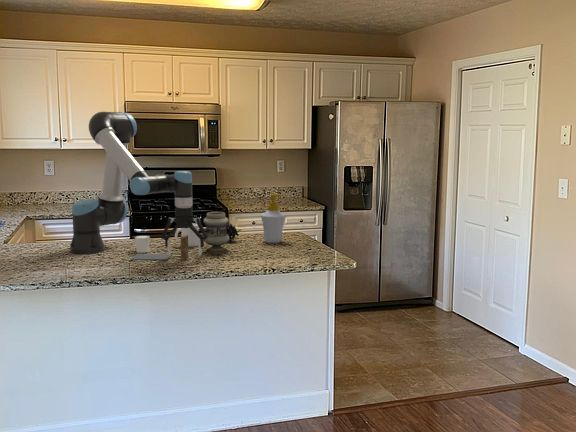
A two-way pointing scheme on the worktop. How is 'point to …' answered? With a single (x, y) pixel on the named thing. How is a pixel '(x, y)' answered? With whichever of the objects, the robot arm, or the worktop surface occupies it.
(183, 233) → the mug
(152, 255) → the rubber mat
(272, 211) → the soap bottle
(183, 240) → the walnut slab
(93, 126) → the robot arm
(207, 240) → the apothecary jar
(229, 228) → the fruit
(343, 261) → the worktop surface
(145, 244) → the white cup
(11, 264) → the worktop surface
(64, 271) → the worktop surface
